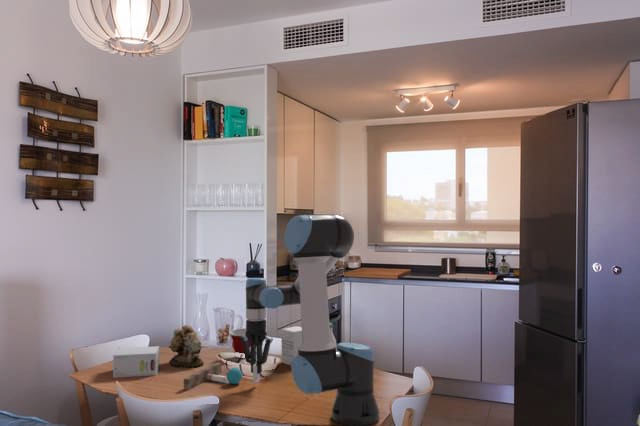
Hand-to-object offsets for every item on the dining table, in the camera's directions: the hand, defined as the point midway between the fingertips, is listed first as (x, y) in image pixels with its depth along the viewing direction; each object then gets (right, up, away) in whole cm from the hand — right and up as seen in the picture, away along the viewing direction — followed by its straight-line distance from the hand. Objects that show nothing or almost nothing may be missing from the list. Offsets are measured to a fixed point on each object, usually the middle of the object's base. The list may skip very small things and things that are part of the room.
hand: (256, 381), depth 205 cm
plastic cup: (-12, -3, +44) cm, 45 cm away
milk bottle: (+27, -2, +19) cm, 33 cm away
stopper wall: (-22, -2, +8) cm, 23 cm away
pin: (-12, -1, +5) cm, 13 cm away
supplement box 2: (+13, -2, +34) cm, 36 cm away
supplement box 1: (-52, -3, +21) cm, 56 cm away
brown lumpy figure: (-35, -3, +33) cm, 48 cm away
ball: (-9, +1, +4) cm, 10 cm away
